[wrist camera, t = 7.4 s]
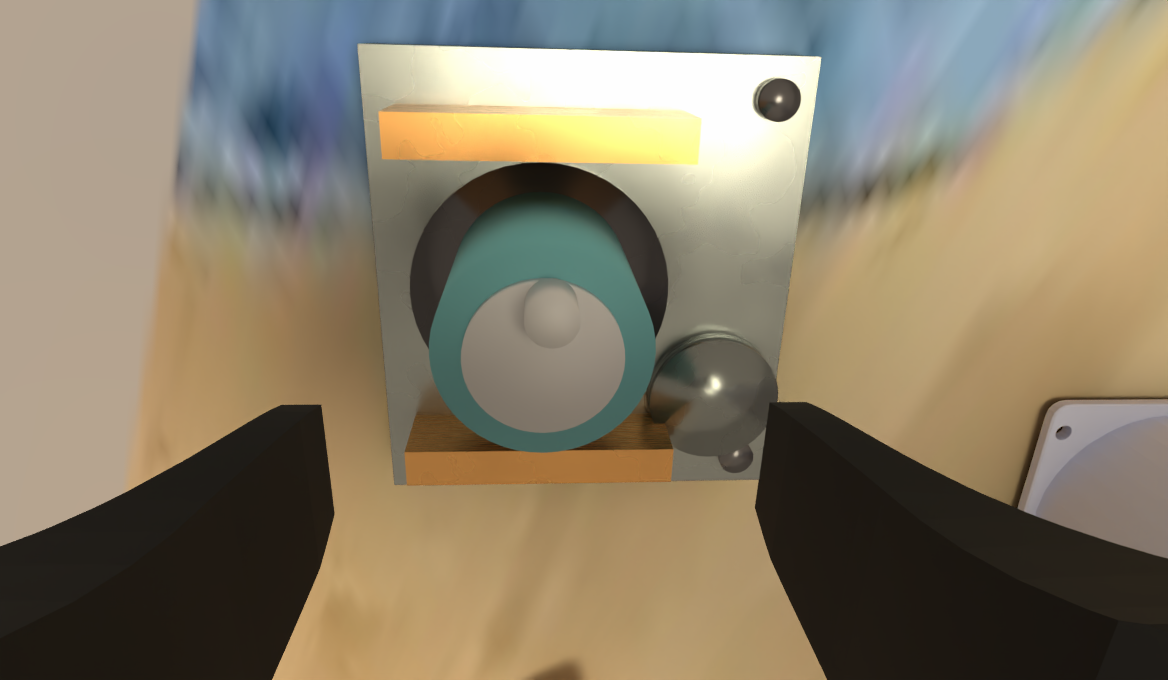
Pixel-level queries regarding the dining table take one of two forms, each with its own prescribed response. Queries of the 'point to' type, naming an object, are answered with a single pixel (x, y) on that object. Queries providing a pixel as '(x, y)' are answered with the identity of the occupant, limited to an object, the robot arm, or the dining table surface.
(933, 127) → the dining table surface
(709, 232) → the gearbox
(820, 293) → the dining table surface
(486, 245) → the spout can
